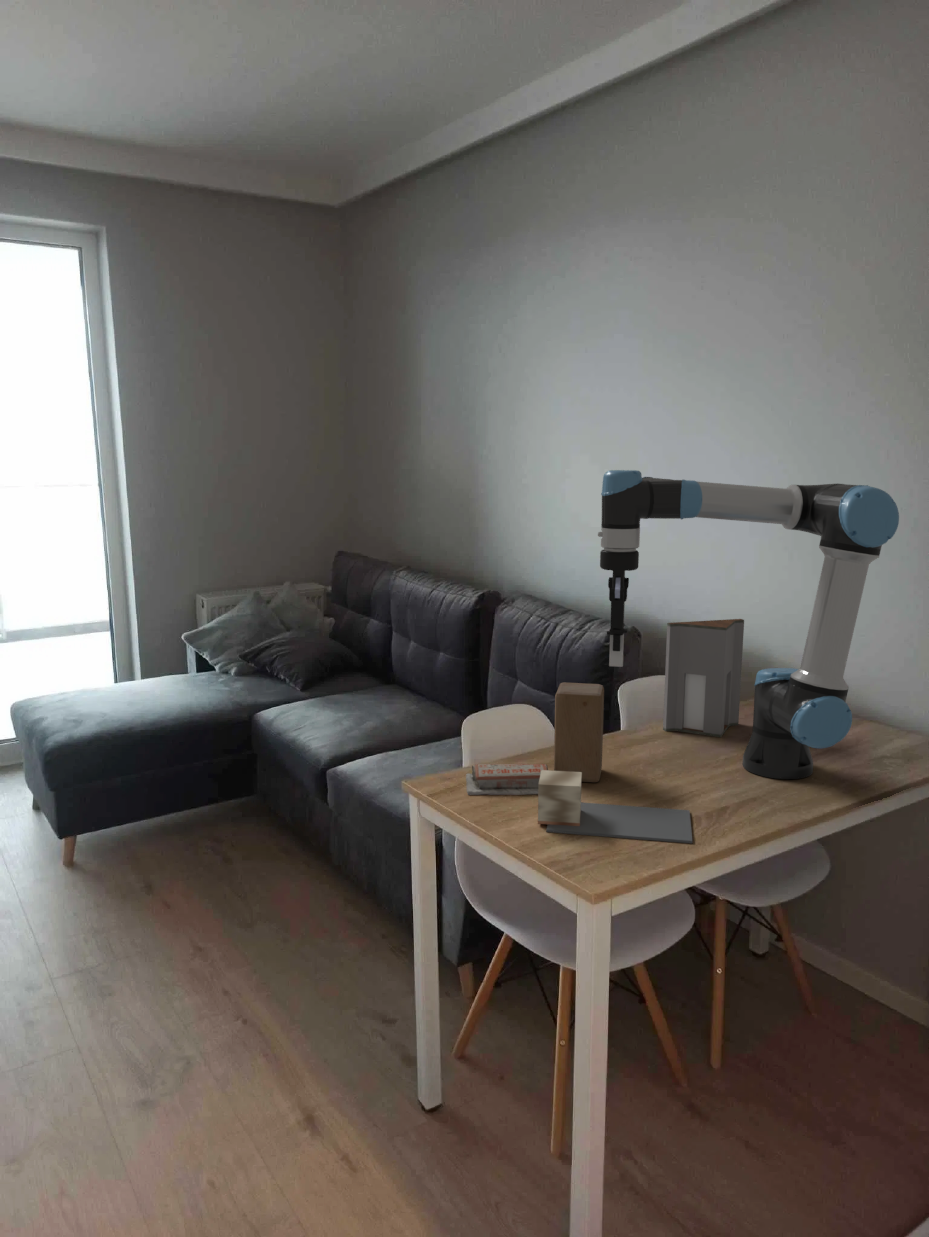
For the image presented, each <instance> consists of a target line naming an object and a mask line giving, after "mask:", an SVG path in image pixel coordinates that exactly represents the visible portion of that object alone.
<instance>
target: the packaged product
mask: <svg viewBox="0 0 929 1237" xmlns="http://www.w3.org/2000/svg"><path fill="white" fill-rule="evenodd" d="M471 770H472V771H471V773H466V774H465V781H466V793H467V795H469V796H480V795H490V796H493V795H495V796H498V795H500V796H501V795H503V796H504V795H506V796H507V795H508V796H509V795H513V796H521V795H538V785H539V779H540V774H541V770H549V767H548V765H547V764H545V763H544V764H543V763H486V764H485V763H480V764H479V763H478V764H473V765H472V767H471Z"/></svg>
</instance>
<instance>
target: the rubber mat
mask: <svg viewBox="0 0 929 1237" xmlns="http://www.w3.org/2000/svg"><path fill="white" fill-rule="evenodd" d="M546 825H547V826H546V831H545V832H546V833H554V834H555V833H557V834H569V835H578V836H579V835H581V836H595V837H604V838H605V837H607V838H617V839H618V838H619V839H628V840H629V839H632V840H644V841H646V840H647V841H655V842H657V841H658V842H669V843H670V842H671V843H680V844H681V843H682V844H693V834H692V832H693V831H692V821H691V813H690V810H689V809H678V808H677V809H676V808H662V807H651V806H650V807H649V806H637V805H625V804H624V805H622V804H621V805H620V804H609V803H608V804H607V803H595V802H584V801H583V802H582V801H581V814H580V826H568V825H551V824H546Z"/></svg>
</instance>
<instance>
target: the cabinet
mask: <svg viewBox="0 0 929 1237" xmlns="http://www.w3.org/2000/svg"><path fill="white" fill-rule="evenodd" d="M666 626H667V627H666V646H665V647H666V648H665V649H666V650H665V668H664V670H665V671H664V676H665V677H664V698H663V719H662V721H663V722H662V730H663V731H664V732H674V731H675V732H681V733H688V734H696V735H702V736H710V737H715V738H722V736H723V735H725V732H726V731H727V730H728V728H729V727H732V726H739V720H740V700H741V686H742V685H741V683H742V667H743V666H742V665H743V651H744V650H743V649H744V646H743V645H744V634H745V633H744V630H745V629H744V627H745V619H743V618H733V619H731V618H730V619H713V620H711V619H710V620H697V621H696V620H695V621H694V620H692V621H677V622H667V623H666Z"/></svg>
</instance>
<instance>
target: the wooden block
mask: <svg viewBox="0 0 929 1237" xmlns="http://www.w3.org/2000/svg"><path fill="white" fill-rule="evenodd" d="M604 700H605V688H604V685H602V684H599V683H584V682H583V683H581V682H579V683H578V682H565V681H564V682H560V683H559V685H558V687H557V691H556V693H555V696H554V706H555V707H554V740H553V742H554V744H553V753H554V754H553V771H569V772H582V781H581V783H582V782H583V783H585V782H586V783H598V782H599V781H600V779H601V775H602V774H601V772H602V769H603V768H602V767H603V740H604V738H603V737H604V708H605V706H604V705H605V704H604V703H605V702H604Z"/></svg>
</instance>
